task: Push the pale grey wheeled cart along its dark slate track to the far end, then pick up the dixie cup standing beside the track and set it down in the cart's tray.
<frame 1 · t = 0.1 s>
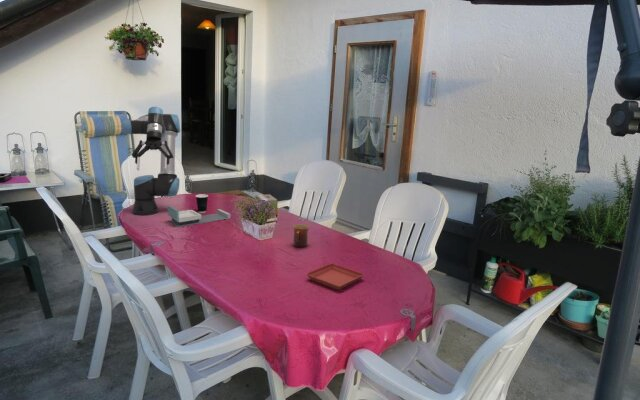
hand: (151, 169, 224), 36 cm above the table, tool tilted 35°, fingers open, 13 cm apart
plant saucer: (334, 281, 185), on the table
dixie cup: (202, 212, 280), on the table
cart: (184, 213, 255), point 5 cm above the table, slide at 0.0 cm
mug: (299, 246, 224), on the table
track: (199, 220, 263), on the table
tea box: (266, 220, 269), on the table
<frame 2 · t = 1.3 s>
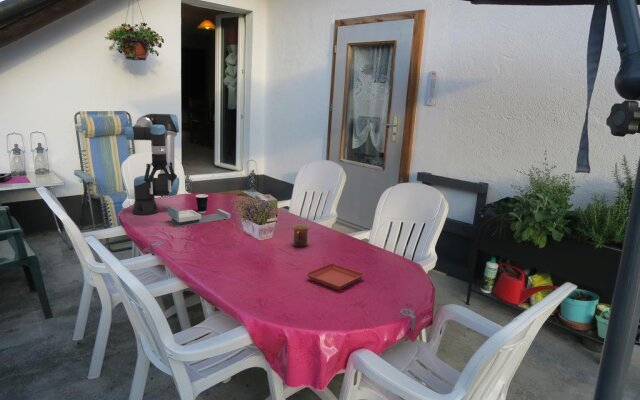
hand: (160, 192, 244), 20 cm above the table, tool pointing down, fingers open, 10 cm apart
nothing on the table moved.
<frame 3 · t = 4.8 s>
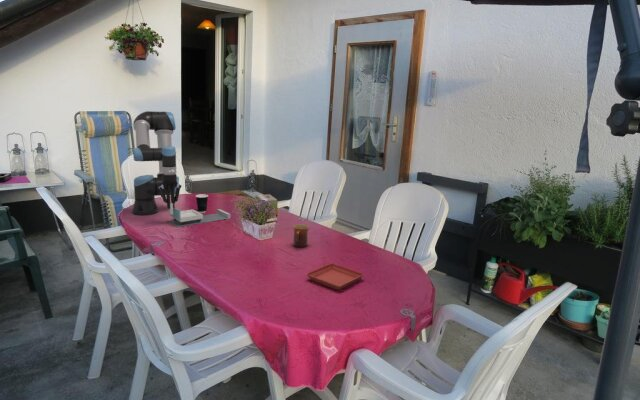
hand: (171, 213, 250), 6 cm above the table, tool pointing down, fingers closed
cart: (186, 213, 256), point 5 cm above the table, slide at 0.9 cm, touching gripper
everything else where it was.
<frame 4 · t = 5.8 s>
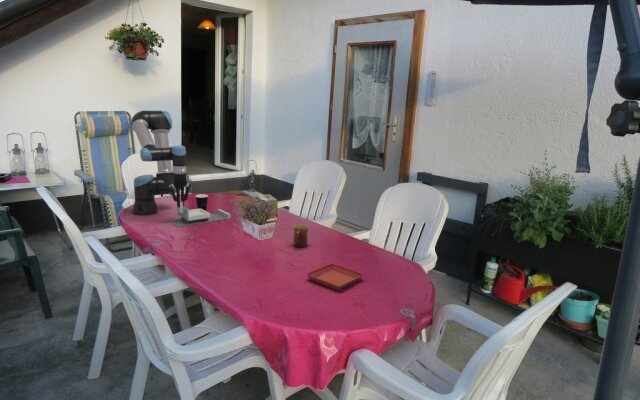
hand: (180, 212, 254), 6 cm above the table, tool pointing down, fingers closed
cart: (193, 212, 259), point 5 cm above the table, slide at 5.8 cm, touching gripper
everything else where it was.
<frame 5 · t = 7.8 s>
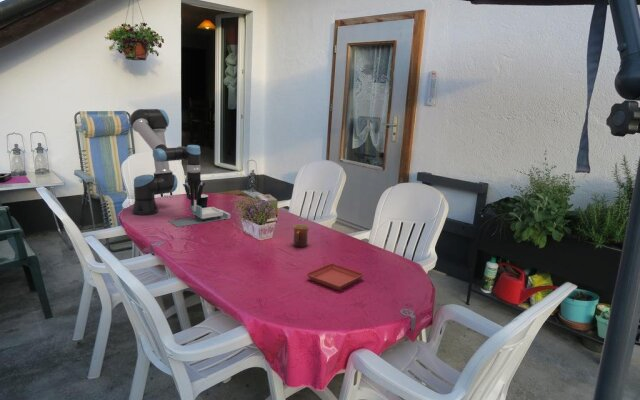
hand: (194, 210, 259), 6 cm above the table, tool pointing down, fingers closed
cart: (206, 210, 264), point 5 cm above the table, slide at 14.1 cm, touching gripper
everything else where it was.
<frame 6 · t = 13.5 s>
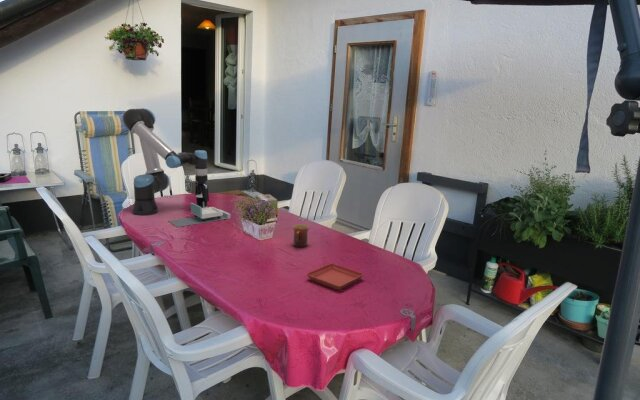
hand: (202, 209, 280), 2 cm above the table, tool pointing down, fingers closed on dixie cup, 8 cm apart
dixie cup: (202, 212, 280), on the table, touching gripper
cart: (206, 210, 264), point 5 cm above the table, slide at 14.0 cm
everything else where it was.
when the fingers open (7 cm above the table, at t = 18.5 s): dixie cup drops 2 cm, resting on cart.
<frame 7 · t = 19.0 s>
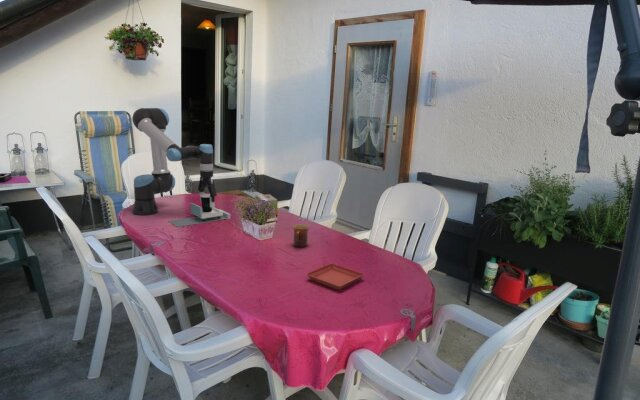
hand: (207, 204, 264), 9 cm above the table, tool pointing down, fingers open, 13 cm apart
dixie cup: (207, 213, 265), point 4 cm above the table, touching cart
cart: (206, 210, 264), point 5 cm above the table, slide at 14.0 cm, touching dixie cup
everything else where it was.
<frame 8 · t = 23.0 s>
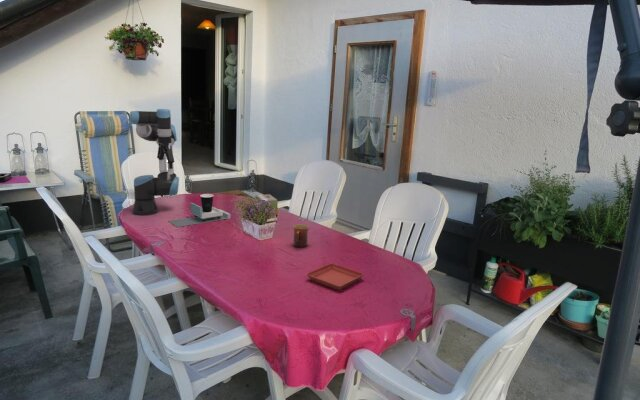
hand: (166, 172, 255), 29 cm above the table, tool pointing down, fingers open, 13 cm apart
nothing on the table moved.
at the end: cart slide at 14.0 cm; dixie cup inside the target area on the cart (0.2 cm from its centre), point 3.6 cm above the cart's base; dixie cup tilted 0° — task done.
